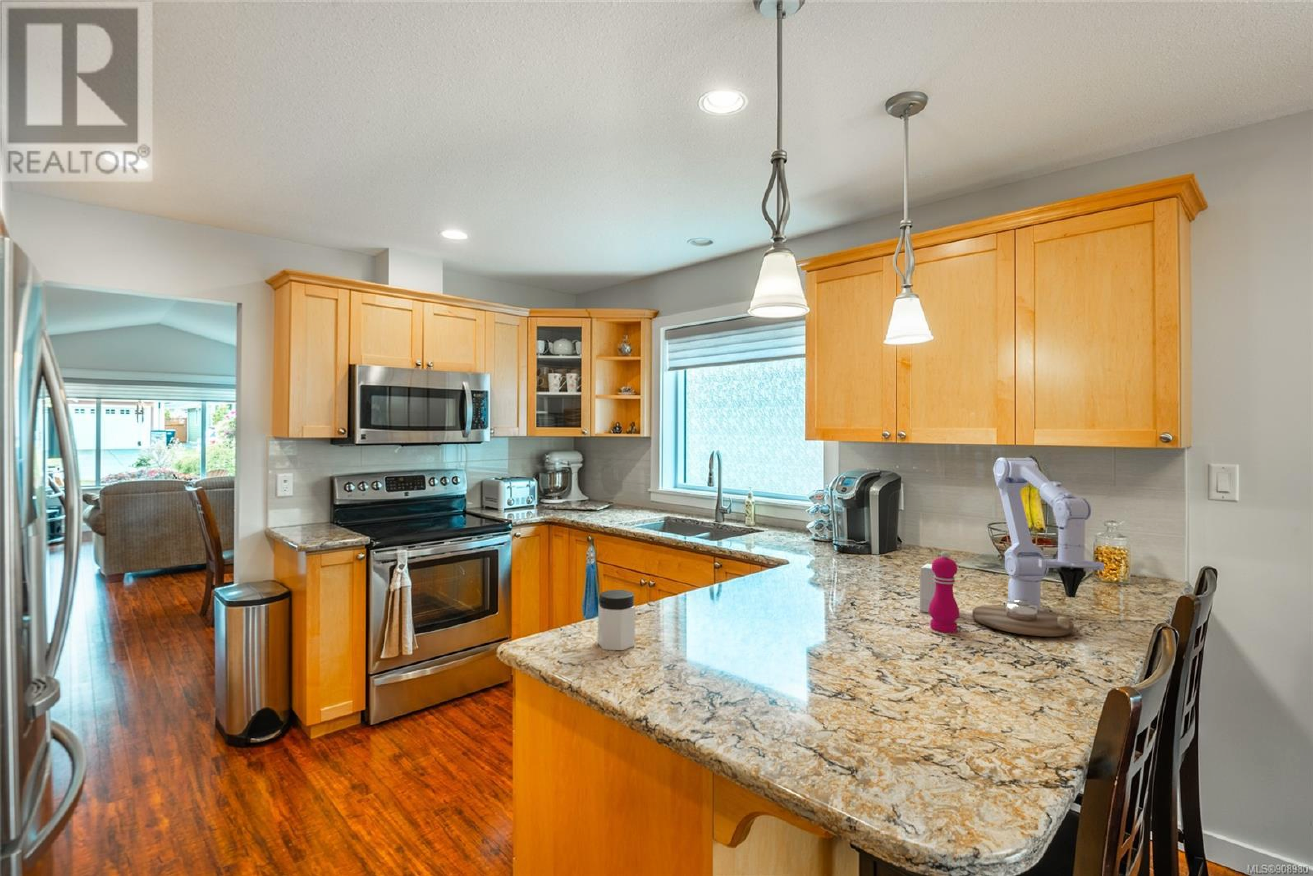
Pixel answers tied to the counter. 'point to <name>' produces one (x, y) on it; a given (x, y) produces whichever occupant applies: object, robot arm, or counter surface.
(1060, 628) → the turntable top
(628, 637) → the jar
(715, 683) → the counter surface
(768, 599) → the counter surface
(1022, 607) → the aluminium cover
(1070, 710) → the counter surface
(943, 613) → the pepper mill
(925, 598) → the supplement box
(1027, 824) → the counter surface
